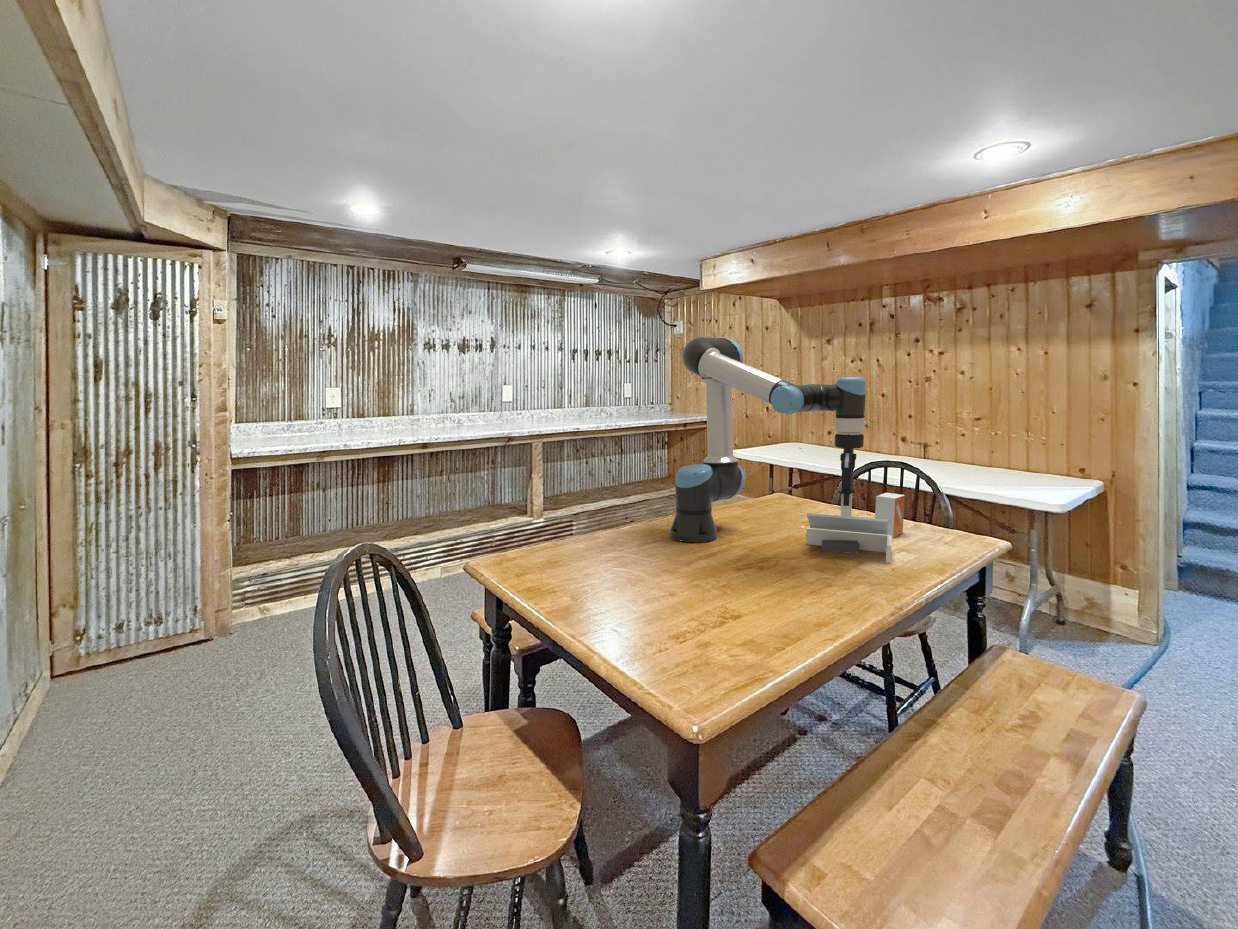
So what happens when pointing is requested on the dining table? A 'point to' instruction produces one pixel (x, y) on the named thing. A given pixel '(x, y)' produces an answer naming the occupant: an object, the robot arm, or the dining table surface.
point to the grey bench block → (852, 539)
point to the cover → (848, 523)
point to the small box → (891, 511)
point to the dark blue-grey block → (840, 546)
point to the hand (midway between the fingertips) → (846, 516)
